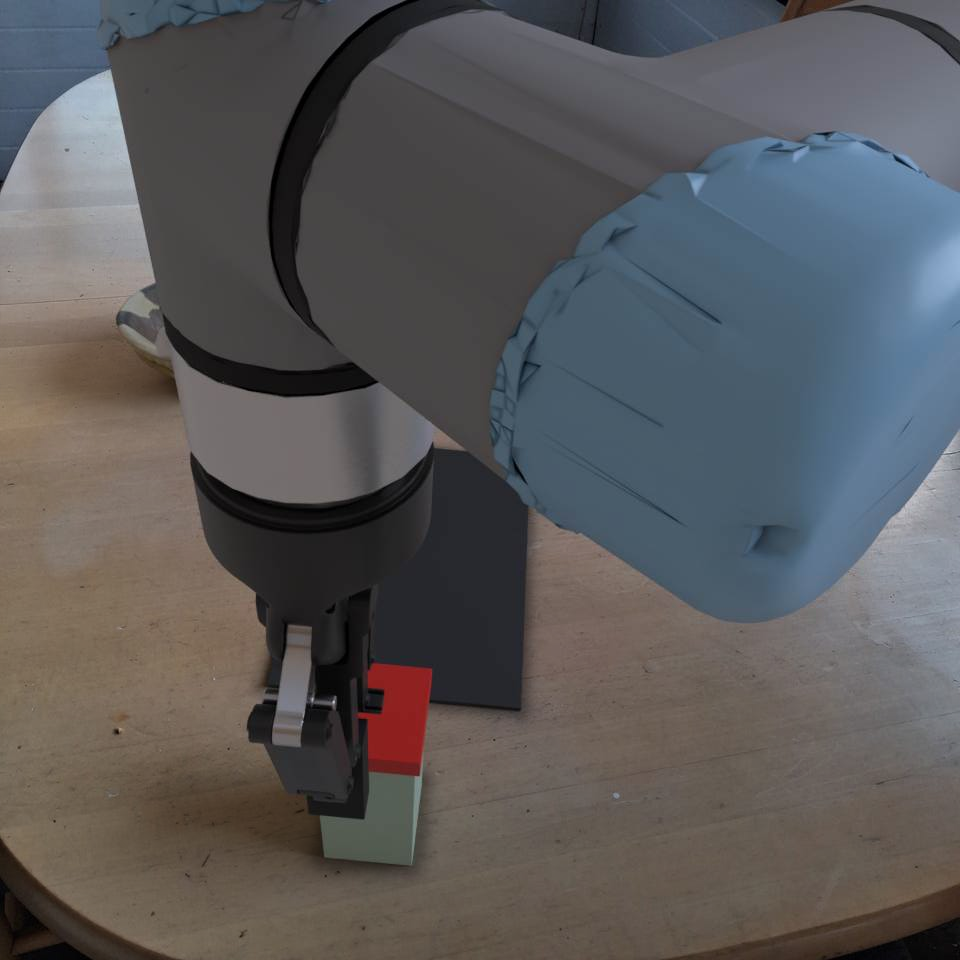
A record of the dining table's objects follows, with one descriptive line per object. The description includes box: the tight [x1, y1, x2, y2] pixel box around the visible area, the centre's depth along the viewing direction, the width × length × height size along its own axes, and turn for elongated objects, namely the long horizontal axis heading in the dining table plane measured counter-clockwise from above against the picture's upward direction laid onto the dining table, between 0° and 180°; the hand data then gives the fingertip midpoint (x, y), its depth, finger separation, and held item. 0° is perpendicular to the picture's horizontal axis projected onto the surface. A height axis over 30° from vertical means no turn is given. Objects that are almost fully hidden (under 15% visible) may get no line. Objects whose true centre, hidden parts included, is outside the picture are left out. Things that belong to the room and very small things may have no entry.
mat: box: [266, 447, 530, 712], centre depth 82 cm, size 30×20×1 cm, turn 176°
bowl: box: [115, 282, 175, 379], centre depth 96 cm, size 18×18×10 cm
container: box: [319, 663, 432, 867], centre depth 59 cm, size 7×7×14 cm
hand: (339, 802), depth 44 cm, fingers closed
